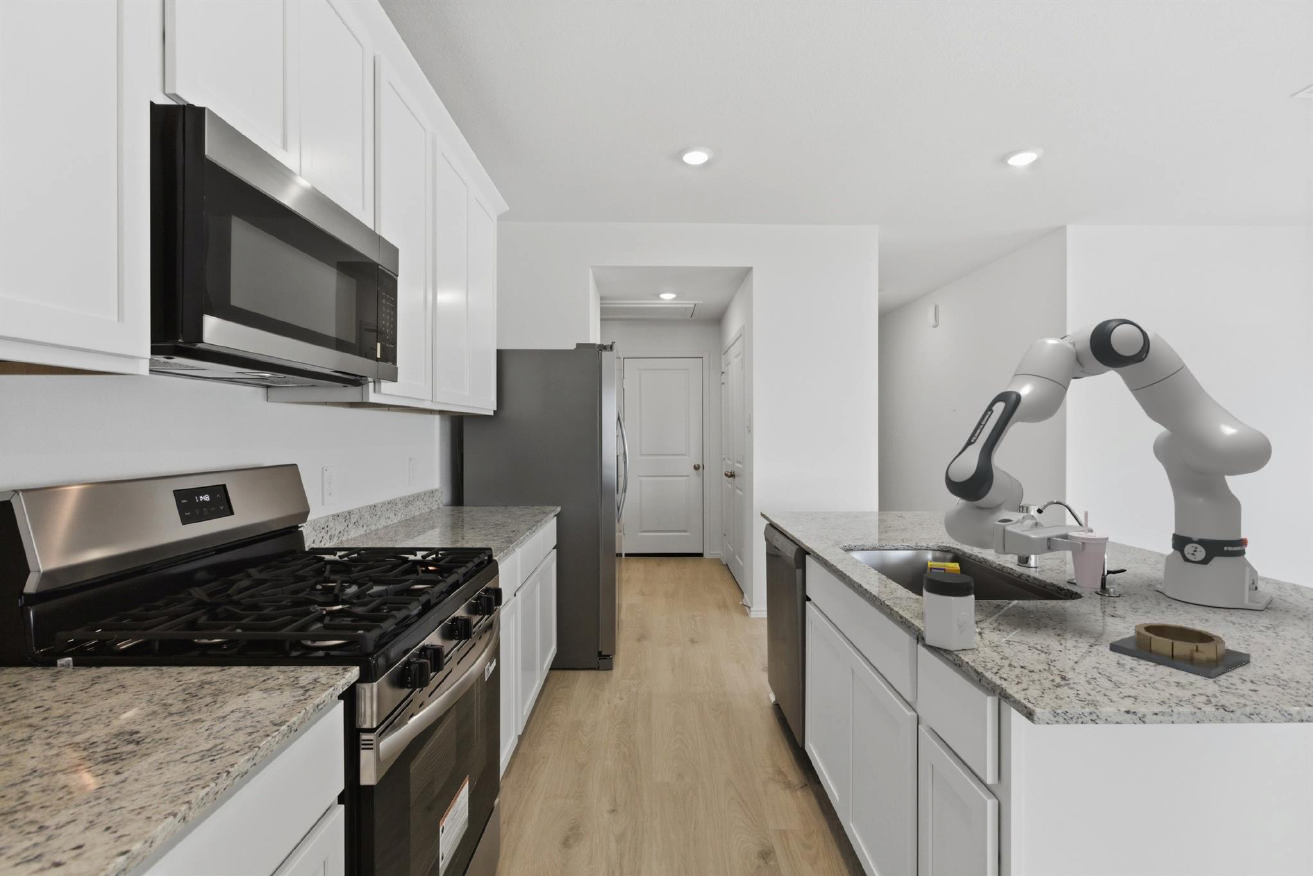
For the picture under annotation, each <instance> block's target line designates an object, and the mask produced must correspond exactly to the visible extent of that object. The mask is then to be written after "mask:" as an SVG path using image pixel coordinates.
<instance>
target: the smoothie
mask: <svg viewBox="0 0 1313 876" xmlns="http://www.w3.org/2000/svg"><path fill="white" fill-rule="evenodd" d="M1083 513H1084V516H1083V517H1084V524H1083V526H1084V532H1070V533H1068V539H1070V540H1071V541H1080V542H1084V543H1085V546H1084V547H1085V550H1084V551H1080V552H1076V551H1071V556H1072V557H1071V558H1072V563H1073V570H1074V571H1073V573H1074V578H1075V585H1076V586H1077V587H1080V588H1081V587H1082V588H1088V589H1099V588H1101V585H1102V584H1101V583H1102V576H1103V569H1104V563H1105V556H1106V548H1107V543H1109V535H1107V534H1103V533H1099V532H1093V533H1090V532H1088V527H1089V512H1088V510H1084V511H1083Z"/></svg>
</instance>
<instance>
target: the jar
mask: <svg viewBox="0 0 1313 876" xmlns="http://www.w3.org/2000/svg"><path fill="white" fill-rule="evenodd" d="M974 589H975V583H974V579H973V577H971V576H970V575H967V574H964V573H961V572H960V573H953V572H928V573H927V572H925V573H924V574H923V587H922V590H923V591H922V621H923V622H922V623H923V624H922V637H923V639H924V642H925V644H926V645H928V646H931V647H935V648H939V649H943V650H947V651H951V652H953V651H954V652H955V650H956V651H963V650H962V649H966V650H972V649H973V650H974V649H975V609H976V608H975V602H976V601H975V595H974Z"/></svg>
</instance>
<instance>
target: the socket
mask: <svg viewBox="0 0 1313 876" xmlns="http://www.w3.org/2000/svg"><path fill="white" fill-rule="evenodd" d="M1108 647H1109V649H1108V650H1109V651H1113V652H1116V653H1120V654H1123V655H1126V656H1130V657H1134V658H1138V659H1140V660H1144V661H1146V662H1147V661H1148V662H1152V663H1155V664H1159V665H1162V666H1165V665H1167V666H1166V667H1169V668H1172V667H1173V668H1172V669H1177V670H1179V669H1180V671H1183V670H1184V671H1183V672H1187V673H1190V672H1192V673H1191V674H1194V673H1196V674H1195V675H1197V674H1201V675H1204V676H1208V677H1211V678H1210V679H1213V678H1214V677H1213V676H1216V677H1218V676H1219V675H1218V674H1220V675H1222V674H1221V673H1222V672H1225V671H1227V670H1229V669H1232V668H1234V667H1237V666H1239V665H1241V664H1243V663H1246V662H1248V661H1250V662H1251V654H1250V653H1247V652H1242V651H1238V650H1233V649H1229V648H1226V641H1225V640H1224V639H1223V638H1222V637H1221V636H1218V635H1217V634H1213V633H1211V632H1209V631H1206V630H1202V629H1197V628H1195V627H1194V628H1193V627H1188V626H1185V625H1179V624H1170V623H1169V624H1168V623H1161V622H1144V623H1143V622H1142V623H1139V624H1135V625H1134V634H1133V635H1130V636H1127V637H1124V638H1121V639H1118V640H1115V641H1111V642H1109V646H1108ZM1248 663H1249V662H1248ZM1246 664H1247V663H1246ZM1243 665H1244V664H1243ZM1241 666H1242V665H1241ZM1239 667H1240V666H1239ZM1237 668H1238V667H1237ZM1234 669H1235V668H1234ZM1232 670H1233V669H1232ZM1227 672H1228V671H1227ZM1225 673H1226V672H1225ZM1201 675H1200V676H1201ZM1217 675H1218V676H1217ZM1204 676H1203V677H1204ZM1208 677H1207V678H1208ZM1212 677H1213V678H1212Z"/></svg>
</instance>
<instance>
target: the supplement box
mask: <svg viewBox="0 0 1313 876" xmlns="http://www.w3.org/2000/svg"><path fill="white" fill-rule="evenodd" d="M926 563H927V564H926V565H927V572H926V573H928V572H953V573H960V574H961V569H960V566H959V563H958V562H943V561H932V560H927V562H926Z"/></svg>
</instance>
